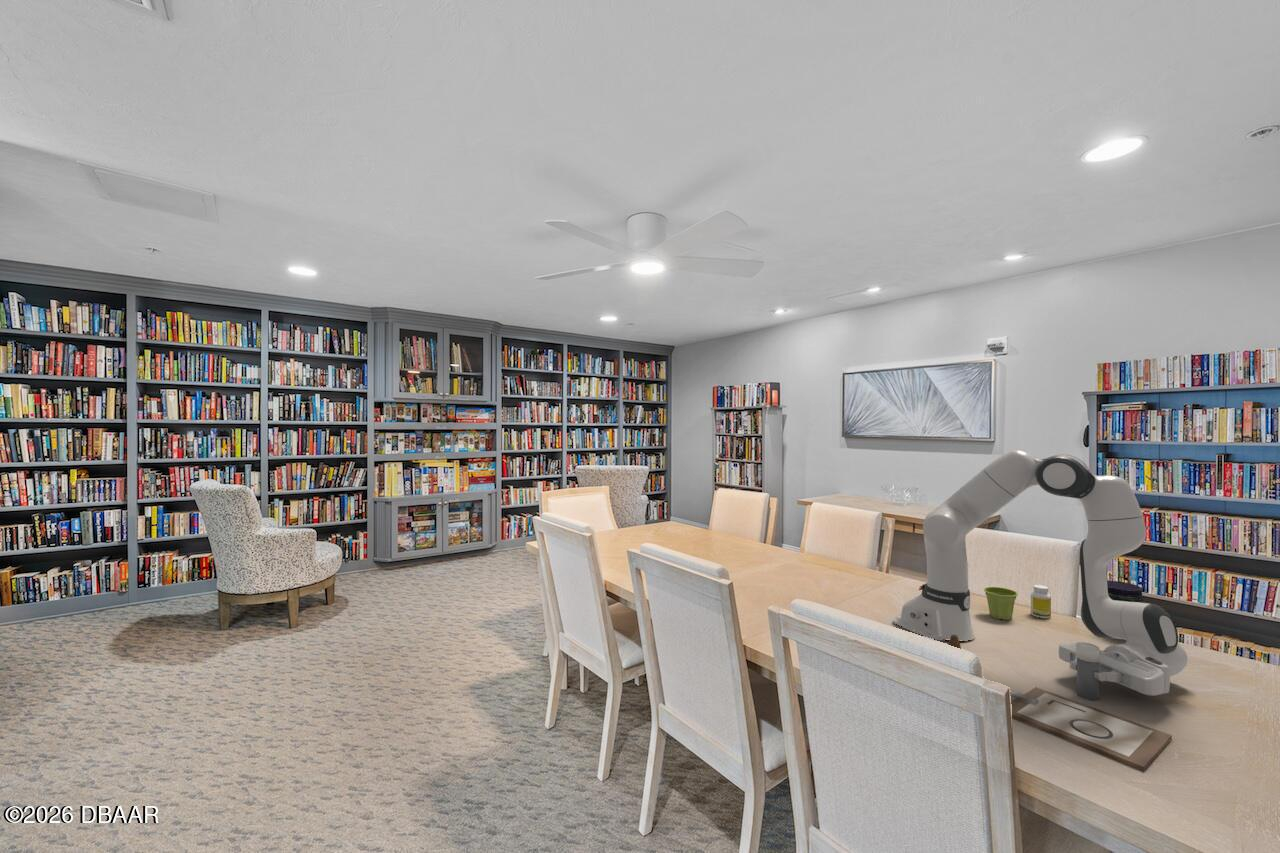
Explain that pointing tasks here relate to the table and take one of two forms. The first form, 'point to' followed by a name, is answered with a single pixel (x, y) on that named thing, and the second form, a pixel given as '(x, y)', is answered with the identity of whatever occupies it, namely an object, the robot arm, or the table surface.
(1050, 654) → the table surface
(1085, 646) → the marker
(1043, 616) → the supplement bottle
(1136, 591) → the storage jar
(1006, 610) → the plant pot
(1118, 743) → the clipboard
